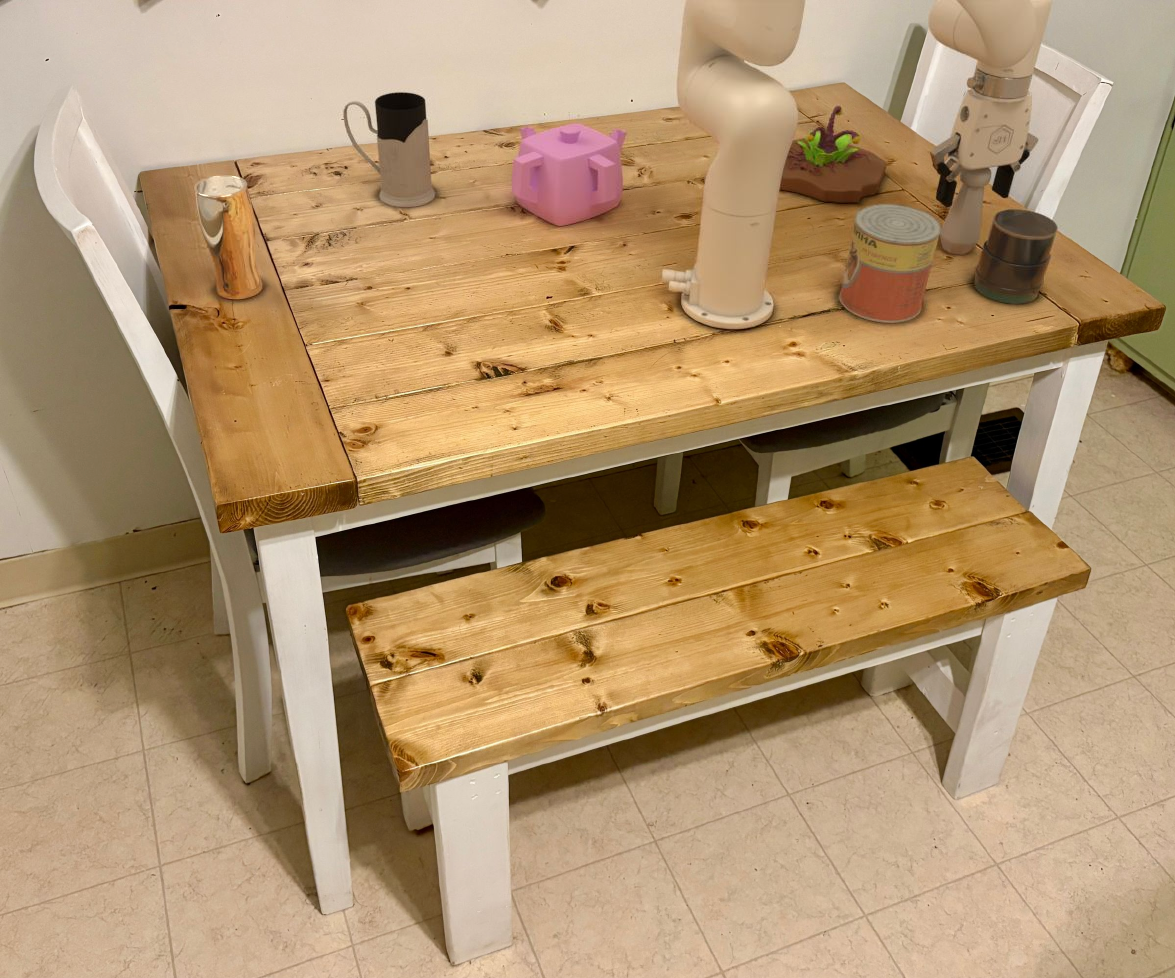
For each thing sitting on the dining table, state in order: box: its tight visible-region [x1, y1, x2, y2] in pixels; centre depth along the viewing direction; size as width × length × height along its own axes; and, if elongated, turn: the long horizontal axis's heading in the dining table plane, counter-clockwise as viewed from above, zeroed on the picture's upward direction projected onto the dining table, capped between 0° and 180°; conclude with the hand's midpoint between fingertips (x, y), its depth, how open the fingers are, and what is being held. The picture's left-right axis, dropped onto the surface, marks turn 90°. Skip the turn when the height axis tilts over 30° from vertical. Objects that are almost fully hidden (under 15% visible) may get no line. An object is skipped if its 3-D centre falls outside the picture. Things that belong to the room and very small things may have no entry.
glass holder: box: [342, 91, 436, 208], centre depth 174 cm, size 9×14×15 cm, turn 71°
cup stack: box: [973, 208, 1058, 305], centre depth 158 cm, size 9×9×10 cm
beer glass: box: [193, 174, 264, 301], centre depth 149 cm, size 7×7×15 cm
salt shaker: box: [939, 168, 992, 256], centre depth 166 cm, size 6×6×13 cm
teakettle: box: [510, 122, 628, 227], centre depth 173 cm, size 17×17×12 cm
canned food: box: [838, 203, 942, 324], centre depth 153 cm, size 11×11×12 cm
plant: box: [779, 105, 887, 204], centre depth 185 cm, size 20×20×11 cm
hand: (971, 198), depth 165 cm, fingers open, 9 cm apart
